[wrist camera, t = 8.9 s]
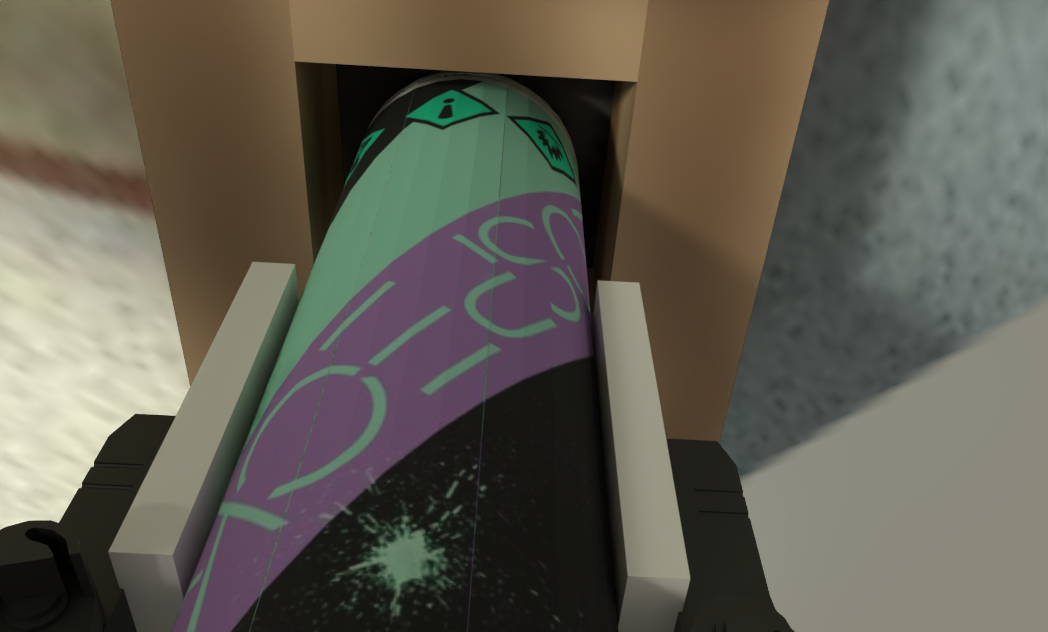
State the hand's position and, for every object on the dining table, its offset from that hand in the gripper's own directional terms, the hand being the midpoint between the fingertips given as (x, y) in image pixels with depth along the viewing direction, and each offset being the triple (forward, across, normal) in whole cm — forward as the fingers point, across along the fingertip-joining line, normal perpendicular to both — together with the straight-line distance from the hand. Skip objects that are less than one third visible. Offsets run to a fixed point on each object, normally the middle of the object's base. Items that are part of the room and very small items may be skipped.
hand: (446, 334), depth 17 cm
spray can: (+7, 0, 0) cm, 7 cm away
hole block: (+8, 0, 0) cm, 8 cm away
